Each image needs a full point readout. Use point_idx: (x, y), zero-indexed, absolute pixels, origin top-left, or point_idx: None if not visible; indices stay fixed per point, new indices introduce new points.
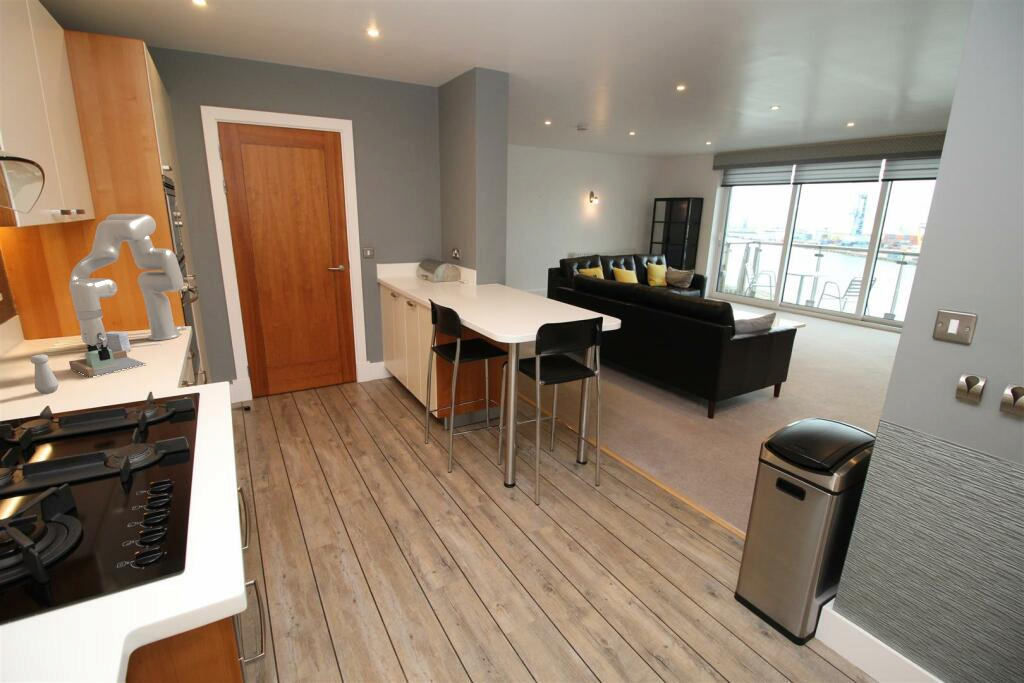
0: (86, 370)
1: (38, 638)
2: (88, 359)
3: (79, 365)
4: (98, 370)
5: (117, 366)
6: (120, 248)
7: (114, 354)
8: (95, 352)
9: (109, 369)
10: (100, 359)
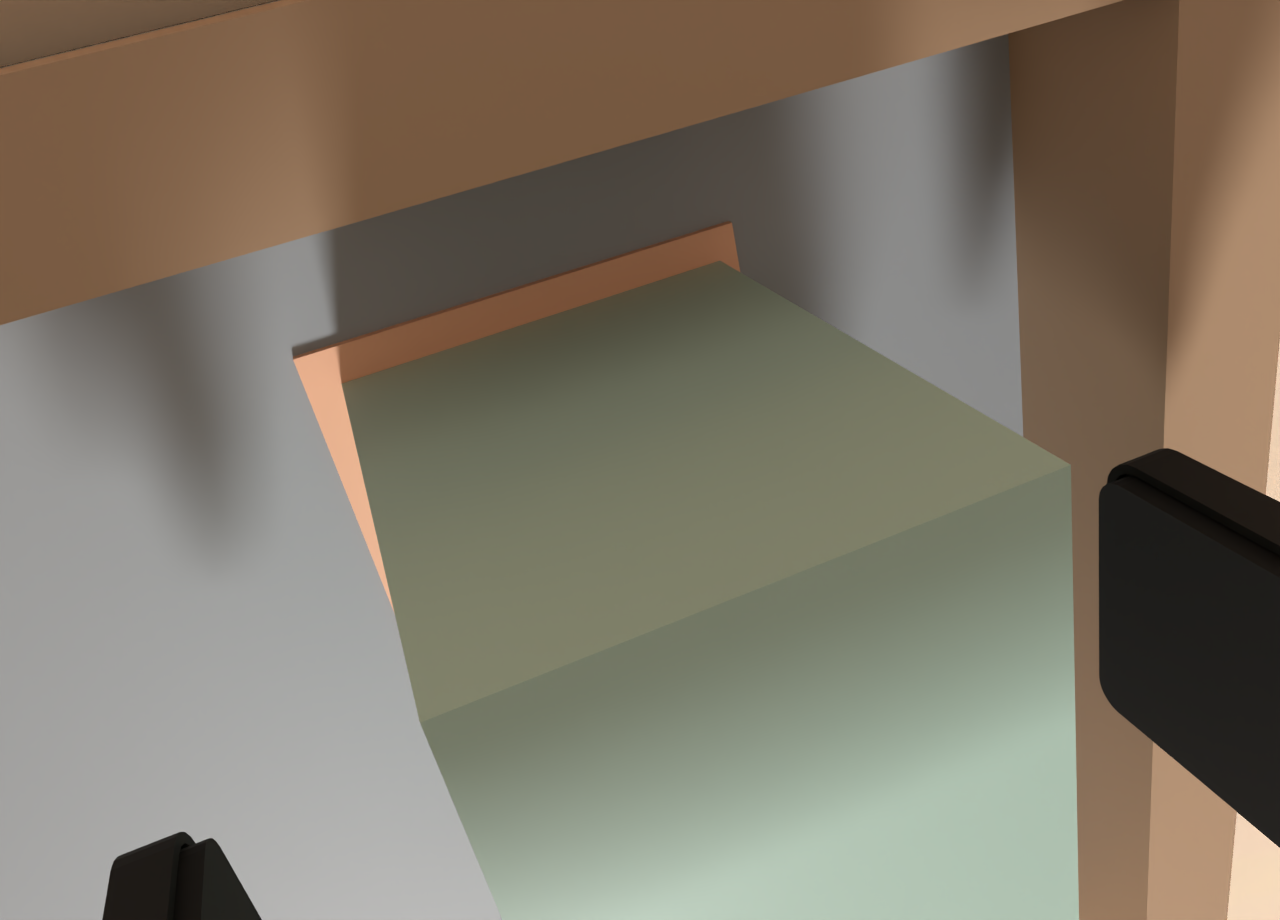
0: None
1: None
2: (650, 444)
3: (322, 42)
4: (157, 516)
5: (310, 895)
6: None
7: (1121, 847)
8: (740, 879)
9: (65, 774)
10: (114, 900)
